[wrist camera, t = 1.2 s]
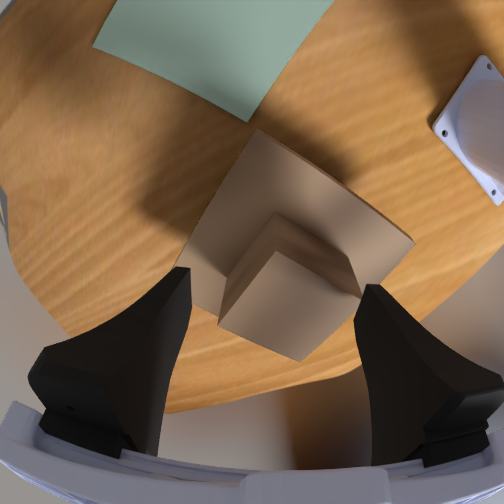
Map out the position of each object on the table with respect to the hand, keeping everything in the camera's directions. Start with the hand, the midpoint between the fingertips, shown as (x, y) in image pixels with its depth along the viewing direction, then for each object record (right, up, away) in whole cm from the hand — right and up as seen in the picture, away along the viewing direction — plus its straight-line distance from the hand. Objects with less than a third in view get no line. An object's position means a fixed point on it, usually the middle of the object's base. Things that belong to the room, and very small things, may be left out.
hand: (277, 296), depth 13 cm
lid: (+1, +1, +6) cm, 6 cm away
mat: (-3, +17, +2) cm, 17 cm away
